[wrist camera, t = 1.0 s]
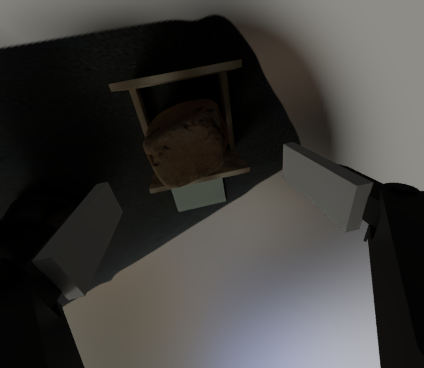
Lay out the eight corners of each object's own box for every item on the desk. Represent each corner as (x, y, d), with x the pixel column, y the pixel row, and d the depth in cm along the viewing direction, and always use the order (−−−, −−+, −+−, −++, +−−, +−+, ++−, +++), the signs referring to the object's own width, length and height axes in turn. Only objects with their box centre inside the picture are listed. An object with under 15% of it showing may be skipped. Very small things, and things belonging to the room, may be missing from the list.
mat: (178, 210, 46) (178, 211, 46) (166, 171, 41) (165, 172, 41) (225, 199, 47) (225, 201, 47) (219, 159, 42) (219, 160, 41)
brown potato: (171, 148, 39) (164, 199, 21) (152, 113, 35) (126, 140, 18) (219, 127, 38) (251, 163, 21) (205, 89, 35) (231, 94, 17)
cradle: (158, 165, 40) (150, 193, 30) (131, 84, 33) (108, 84, 22) (232, 149, 41) (249, 171, 31) (222, 67, 34) (241, 59, 23)
